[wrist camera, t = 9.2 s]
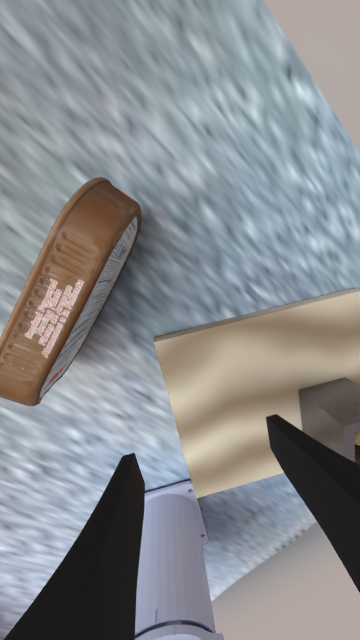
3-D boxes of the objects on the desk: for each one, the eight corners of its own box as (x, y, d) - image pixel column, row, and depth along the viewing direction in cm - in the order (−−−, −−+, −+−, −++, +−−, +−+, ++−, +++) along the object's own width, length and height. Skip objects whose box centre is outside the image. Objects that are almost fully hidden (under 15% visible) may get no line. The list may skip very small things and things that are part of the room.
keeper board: (356, 437, 23) (421, 490, 18) (193, 484, 22) (205, 556, 17) (351, 288, 20) (433, 292, 14) (154, 337, 19) (151, 363, 13)
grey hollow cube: (346, 419, 21) (403, 461, 16) (302, 431, 21) (346, 478, 16) (345, 377, 20) (405, 409, 15) (298, 389, 20) (343, 426, 15)
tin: (119, 205, 16) (76, 129, 8) (153, 227, 17) (146, 177, 9) (42, 357, 18) (-56, 423, 10) (75, 372, 19) (8, 446, 10)
